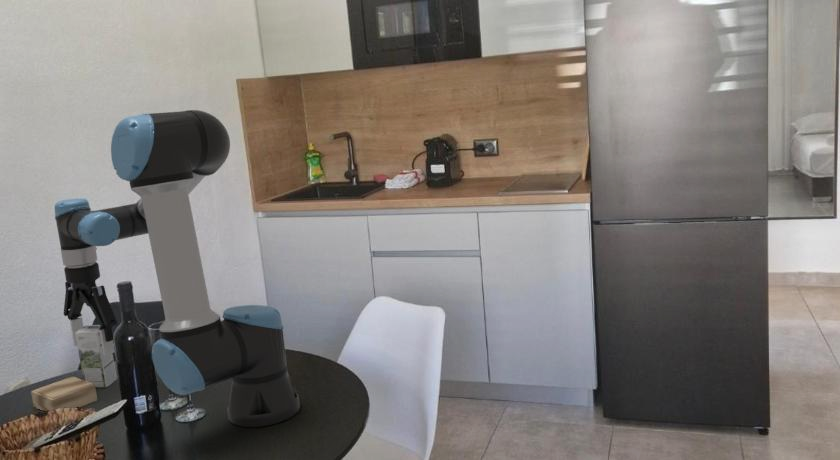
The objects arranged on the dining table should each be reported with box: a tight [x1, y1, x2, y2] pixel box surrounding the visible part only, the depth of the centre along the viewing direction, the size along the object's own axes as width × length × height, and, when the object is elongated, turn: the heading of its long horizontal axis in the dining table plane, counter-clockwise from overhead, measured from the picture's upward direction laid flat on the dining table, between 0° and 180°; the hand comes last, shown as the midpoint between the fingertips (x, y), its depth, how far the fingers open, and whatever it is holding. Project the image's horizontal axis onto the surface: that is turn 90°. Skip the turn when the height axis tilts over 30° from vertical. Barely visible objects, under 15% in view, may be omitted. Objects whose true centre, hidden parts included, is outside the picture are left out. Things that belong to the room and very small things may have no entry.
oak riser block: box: [30, 376, 98, 411], centre depth 177 cm, size 10×10×4 cm
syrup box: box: [75, 324, 118, 389], centre depth 187 cm, size 6×6×14 cm
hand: (94, 348), depth 187 cm, fingers open, 13 cm apart
